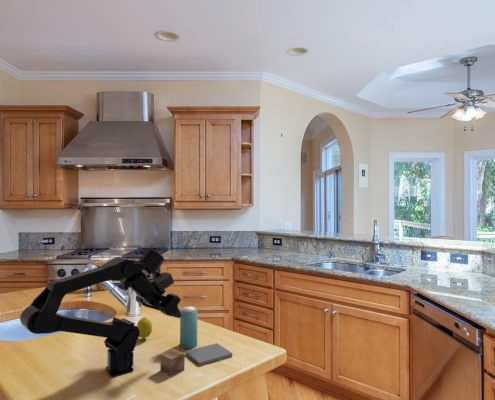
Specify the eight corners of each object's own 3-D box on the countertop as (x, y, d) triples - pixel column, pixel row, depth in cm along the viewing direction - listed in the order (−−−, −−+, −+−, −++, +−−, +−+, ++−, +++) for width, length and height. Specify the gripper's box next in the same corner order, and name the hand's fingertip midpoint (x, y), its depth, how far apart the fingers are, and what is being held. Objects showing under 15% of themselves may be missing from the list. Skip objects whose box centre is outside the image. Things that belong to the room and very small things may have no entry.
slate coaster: (199, 365, 110) (199, 362, 110) (185, 354, 118) (185, 351, 118) (232, 356, 117) (232, 353, 117) (217, 345, 125) (217, 343, 125)
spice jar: (184, 350, 121) (184, 312, 121) (177, 344, 126) (177, 307, 126) (200, 346, 124) (200, 309, 124) (192, 340, 129) (192, 304, 129)
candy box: (111, 288, 204) (111, 261, 204) (109, 290, 200) (109, 262, 200) (95, 288, 203) (96, 261, 204) (93, 290, 199) (93, 262, 199)
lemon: (153, 336, 133) (153, 314, 133) (149, 342, 128) (150, 319, 128) (138, 336, 133) (138, 314, 133) (134, 342, 127) (134, 319, 127)
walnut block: (170, 376, 103) (171, 359, 103) (160, 371, 106) (160, 354, 106) (184, 370, 107) (184, 353, 107) (173, 365, 110) (174, 349, 110)
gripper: (175, 270, 110) (203, 298, 118) (144, 262, 123) (171, 288, 131) (152, 300, 104) (183, 328, 112) (122, 289, 117) (151, 315, 125)
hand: (172, 313), depth 120 cm, fingers open, 9 cm apart
